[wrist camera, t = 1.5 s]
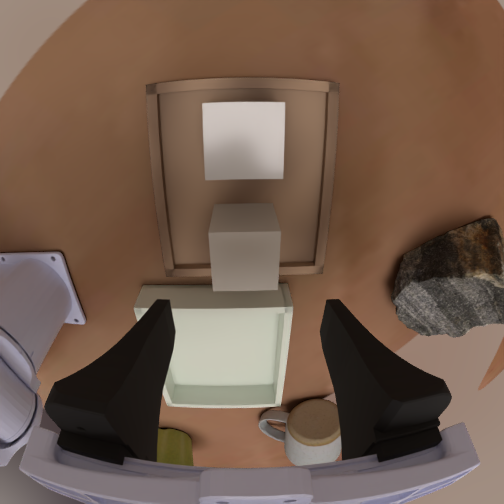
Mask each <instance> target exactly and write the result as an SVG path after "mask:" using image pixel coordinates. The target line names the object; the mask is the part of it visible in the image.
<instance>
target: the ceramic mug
mask: <svg viewBox="0 0 504 504" xmlns="http://www.w3.org/2000/svg"><path fill="white" fill-rule="evenodd" d="M267 420H275V421H280V422H284V423H286V427H285V432H283V431H281V430H278V429H276V428H274V427H272V426H271V425H269V424H268V423H267ZM259 428H260V429H261V431H262V432H263V433H265V434H266V435H268V436H269V437H271V438H274V439H276V440H278V441H281V442H284V443H285V445H284V448H285V453H286V455H287V457H288V458H289V460H290V461H291V462H292V463H293V464H295V465H296V466H303V465H312V464H321V463H329V462H334V461H335V460H336V459H337V458H338V456H339V454H340V452H341V435H340V424H339V416H338V409H337V405H336V404H334V403H333V402H331V401H329V400H324V399H311V400H307V401H304V402H302V403H300V404H298V405H297V406H296V407H294V409H293V410H292V411H291V412H290V413H287V412H284V411H277V410H270V411H266V412H264V413H263V414H262V416H261V418H260V421H259Z"/></svg>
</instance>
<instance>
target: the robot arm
mask: <svg viewBox="0 0 504 504" xmlns="http://www.w3.org/2000/svg"><path fill="white" fill-rule="evenodd" d="M53 256H54V257H55V259H54V258H53ZM85 322H86V318H85V316H84V313H83V311H82V308H81V305H80V303H79V300H78V298H77V295H76V292H75V289H74V287H73V284H72V281H71V278H70V275H69V272H68V269H67V266H66V263H65V260H64V257H63V255H62V253H60V252H26V253H0V466H6V465H7V464H8V462H9V461H10V459H11V458H12V456H13V455H14V454H15V453H16V452H17V451H18V450H19V449H20V448H21V447H22V446H23V445H25V444H27V446H26V449H25V452H24V454H23V457H22V460H21V463H20V466H19V469H20V470H21V471H22V472H24V473H25V474H27V475H28V476H29V477H31V478H32V479H34V480H35V481H37V482H38V483H40V484H41V485H43V486H44V487H46V488H48V489H50V490H52V491H55V492H57V493H60V494H62V495H65V496H67V497H70V498H72V499H75V500H78V501H81V502H83V503H86V504H404V503H406V502H409V501H412V500H414V499H417V498H419V497H422V496H425V495H427V494H429V493H432V492H434V491H437V490H439V489H441V488H444V487H446V486H449V485H451V484H452V483H454V482H455V481H457V480H458V479H460V478H462V477H463V476H465V475H466V474H467V473H469V472H470V471H472V470H473V469H474V468H476V467H477V466H478V465H479V464H480V461H479V459H478V456H477V453H476V450H475V448H474V445H473V443H472V440H471V438H470V435H469V433H468V431H467V428H466V426H465V424H464V423H463V422H462V423H459V424H456V425H453V426H451V427H448V428H445V429H443V430H442V431H440V432H439V429H438V426H439V425H440V421H439V419H438V417H439V416H440V415H441V414H442V412H443V411H444V410H445V409H446V408H447V406H448V405H449V403H450V401H451V398H452V396H451V393H450V391H449V389H448V387H447V385H446V383H445V381H444V380H443V379H440V378H438V377H436V376H433V375H431V374H429V373H426V372H424V371H423V370H420V369H419V368H417V367H415V366H413V365H411V364H410V363H408V362H407V361H405V360H404V359H402V358H401V357H399V356H398V355H396V354H395V353H393V352H392V351H391V350H390V349H388V348H387V347H386V346H384V345H383V344H382V343H381V342H380V341H379V340H377V339H376V338H375V337H374V336H373V335H372V334H371V333H370V332H369V331H368V330H367V329H366V328H365V327H364V326H363V325H362V324H361V323H360V322H359V321H358V320H357V319H356V318H355V316H354V315H353V314H352V313H351V312H350V311H349V310H348V309H347V307H346V306H345V305H344V304H343V303H342V302H341V301H340V300H339V299H330V300H326V305H325V310H324V315H323V319H322V324H321V328H320V336H321V342H322V348H323V352H324V356H325V359H326V363H327V366H328V370H329V373H330V377H331V380H332V383H333V387H334V391H335V396H336V402H337V409H338V416H339V424H340V435H341V447H342V461H336V462H329V463H321V464H312V465H303V466H291V467H271V468H213V467H197V466H185V465H175V464H167V463H159V462H157V442H158V426H159V415H160V407H161V399H162V393H163V388H164V384H165V380H166V376H167V372H168V369H169V365H170V361H171V357H172V353H173V349H174V342H175V334H176V330H175V325H174V320H173V314H172V309H171V304H170V299H157V300H156V301H155V302H154V303H153V304H152V305H151V307H150V308H149V309H148V310H147V311H146V313H145V314H144V315H143V316H142V317H141V319H140V320H139V321H138V322H137V323H136V324H135V325H134V326H133V327H132V329H131V330H130V331H129V332H128V333H127V334H126V335H125V336H124V337H123V338H122V339H121V340H120V341H119V342H118V343H117V344H116V345H114V346H113V347H112V348H111V349H110V350H109V351H107V352H106V353H105V354H103V355H102V356H101V357H99V358H98V359H96V360H95V361H94V362H92V363H91V364H89V365H88V366H86V367H84V368H83V369H81V370H79V371H78V372H76V373H74V374H72V375H70V376H68V377H66V378H64V379H61V380H59V381H57V382H55V383H54V385H53V387H52V389H51V391H50V394H49V396H48V398H47V401H46V403H45V406H44V407H45V410H46V412H47V414H48V415H49V416H50V418H51V419H52V420H53V421H54V422H55V423H56V424H57V426H58V427H59V428H60V429H61V432H60V435H58V434H56V433H55V432H53V431H50V430H47V429H44V428H41V427H39V426H40V422H41V418H42V400H41V398H40V396H39V395H38V393H37V390H38V388H39V386H40V384H41V382H40V381H39V380H38V378H37V377H36V374H37V372H38V370H39V368H40V366H41V364H42V362H43V360H44V358H45V356H46V354H47V353H48V351H49V349H50V347H51V345H52V343H53V341H54V340H55V338H56V336H57V334H58V332H59V331H60V329H61V327H62V325H63V324H64V323H71V324H82V325H83V324H85Z"/></svg>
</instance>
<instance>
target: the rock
mask: <svg viewBox="0 0 504 504" xmlns="http://www.w3.org/2000/svg"><path fill="white" fill-rule="evenodd" d="M391 295H392V296H391V299H392V302H393V304H394V305H395V306H396V314H397V315H398V319H399V320H400V321H402V322H403V323H404V324H405V325H406V326H407V328H410V329H413V330H414V331H416V332H418V333H419V334H420V335H426V336H431V335H438V334H448V335H449V336H451V337H460V336H463V335H465V334H466V333H467V332H468V331H470V329H471V328H472V327H477V326H483V327H484V326H486V325H488V324H504V238H503V236H502V230H501V228H500V226H499V225H498V223H497V221H496V220H495V219H494V218H488V219H481V220H479V221H476V222H474V223H472V224H469V225H466V226H463V227H461V228H458V229H455V230H451V231H449V232H447V233H446V234H445V235H444V236H438V237H436V238H434V239H432V240H430V241H428V242H426V243H425V244H423V245H421V246H420V247H418V248H416V249H414V250H412V251H410V252H408V253H406V254H404V259H403V261H402V262H401V264H400V270H399V272H398V274H397V278H396V280H395V285H394V289H393V292H392V294H391Z"/></svg>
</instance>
